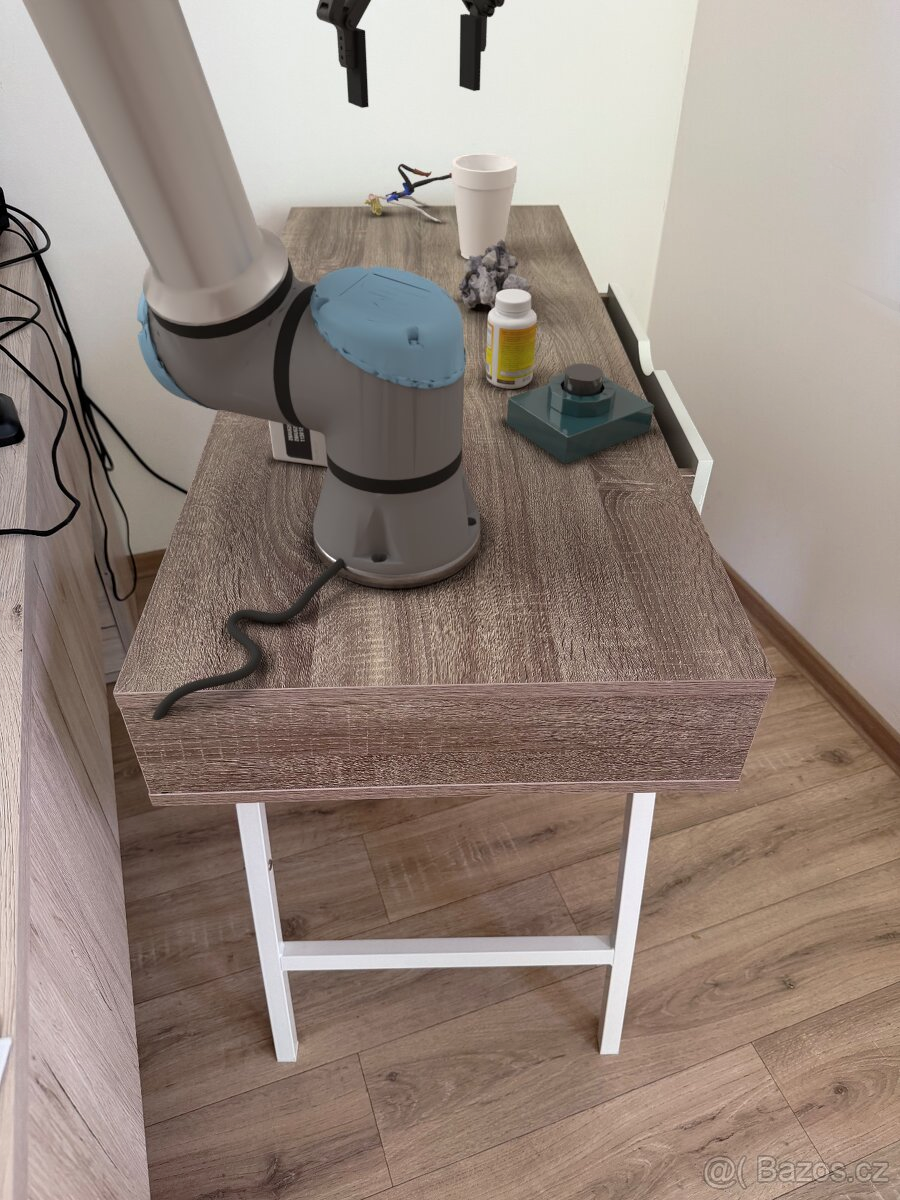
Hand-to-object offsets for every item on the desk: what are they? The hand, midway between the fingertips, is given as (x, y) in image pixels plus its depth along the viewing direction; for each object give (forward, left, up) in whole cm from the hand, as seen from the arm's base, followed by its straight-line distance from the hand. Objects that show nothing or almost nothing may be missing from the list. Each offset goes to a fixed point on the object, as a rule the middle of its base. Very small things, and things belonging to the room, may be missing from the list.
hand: (415, 96), depth 94 cm
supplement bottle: (+5, -11, -29) cm, 31 cm away
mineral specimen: (+16, +7, -29) cm, 34 cm away
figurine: (+28, +46, -29) cm, 61 cm away
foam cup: (+27, +24, -29) cm, 46 cm away
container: (-20, -12, -29) cm, 37 cm away
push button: (+5, -24, -24) cm, 34 cm away
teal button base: (+5, -24, -29) cm, 38 cm away
